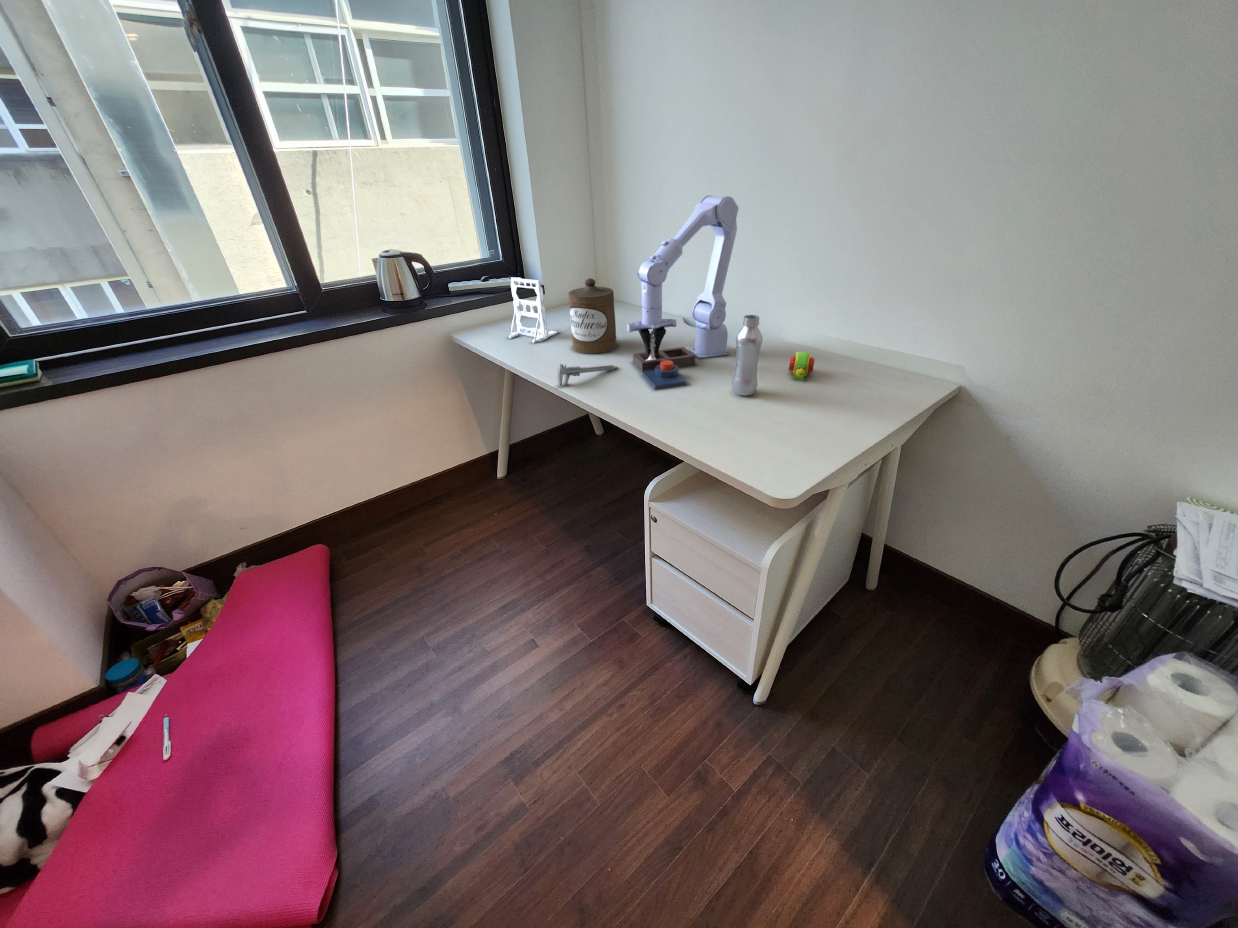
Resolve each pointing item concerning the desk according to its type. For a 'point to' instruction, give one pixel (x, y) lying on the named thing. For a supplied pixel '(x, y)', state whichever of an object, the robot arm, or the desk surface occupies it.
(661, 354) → the holder
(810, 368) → the green wheeled toy
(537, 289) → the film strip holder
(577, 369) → the caliper
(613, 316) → the wooden container
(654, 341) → the chess piece
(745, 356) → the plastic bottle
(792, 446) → the desk surface
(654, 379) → the station
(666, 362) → the station button
